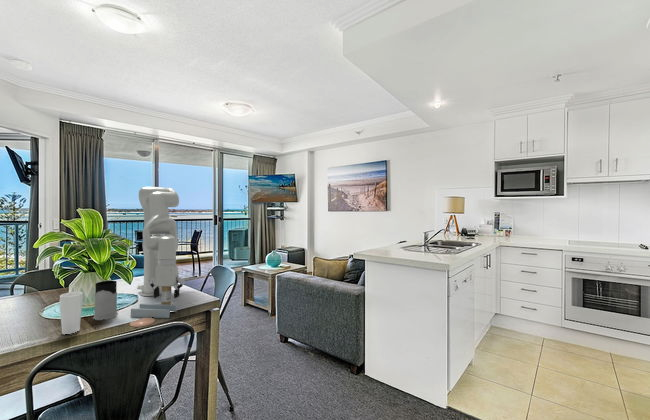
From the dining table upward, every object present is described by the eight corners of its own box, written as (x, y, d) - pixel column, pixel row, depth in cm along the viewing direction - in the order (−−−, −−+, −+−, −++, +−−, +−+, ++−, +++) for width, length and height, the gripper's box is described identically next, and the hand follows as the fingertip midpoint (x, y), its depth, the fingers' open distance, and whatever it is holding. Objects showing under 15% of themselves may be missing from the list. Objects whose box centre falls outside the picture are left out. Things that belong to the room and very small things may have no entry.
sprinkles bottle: (169, 305, 145) (170, 278, 144) (172, 307, 141) (173, 280, 141) (159, 307, 141) (160, 279, 141) (162, 309, 138) (162, 282, 138)
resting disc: (124, 326, 119) (124, 325, 119) (139, 318, 128) (139, 317, 128) (146, 327, 119) (146, 326, 119) (159, 318, 128) (159, 317, 128)
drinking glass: (54, 335, 110) (54, 296, 109) (72, 327, 116) (73, 290, 116) (68, 337, 109) (69, 297, 108) (86, 329, 115) (87, 292, 115)
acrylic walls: (130, 316, 129) (130, 308, 129) (140, 311, 136) (140, 303, 136) (168, 318, 129) (168, 310, 129) (176, 312, 136) (176, 304, 136)
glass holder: (89, 321, 123) (90, 286, 123) (102, 309, 137) (103, 277, 136) (113, 318, 126) (114, 284, 126) (124, 307, 140) (124, 276, 139)
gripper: (144, 263, 137) (144, 299, 137) (180, 263, 137) (180, 300, 137) (154, 260, 145) (153, 294, 145) (188, 261, 144) (188, 295, 145)
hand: (166, 297), depth 141 cm, fingers open, 9 cm apart
